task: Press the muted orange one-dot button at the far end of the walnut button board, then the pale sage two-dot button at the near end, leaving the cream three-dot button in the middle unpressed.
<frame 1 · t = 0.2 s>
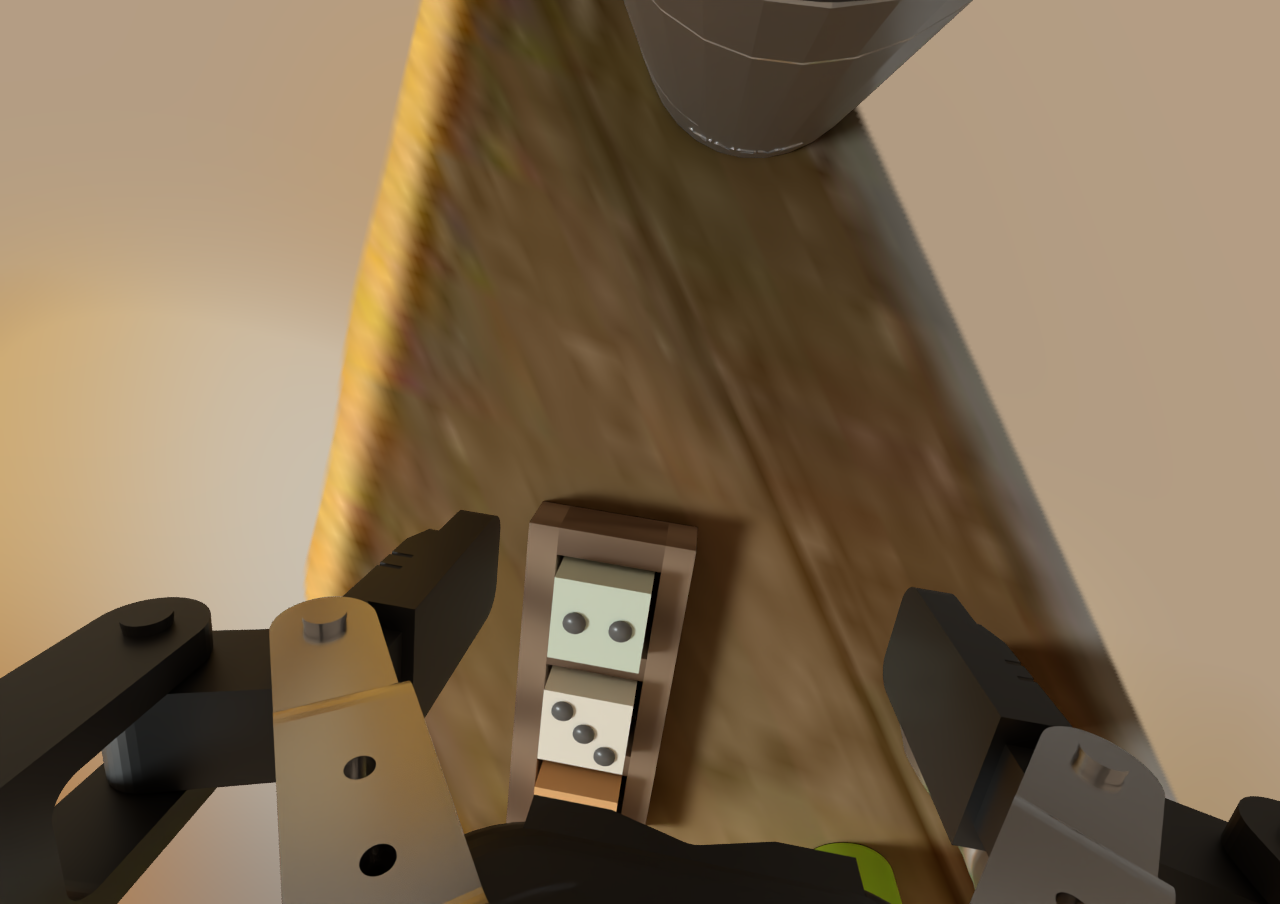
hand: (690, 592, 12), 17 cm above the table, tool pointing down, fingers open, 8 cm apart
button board: (597, 679, 34), on the table
three dot button: (589, 712, 32), point 3 cm above the table, slide at 0.0 cm
two dot button: (602, 609, 30), point 3 cm above the table, slide at 0.0 cm
soap dispenser: (848, 869, 37), on the table
one dot button: (577, 802, 34), point 3 cm above the table, slide at 0.0 cm
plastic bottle: (951, 696, 32), on the table
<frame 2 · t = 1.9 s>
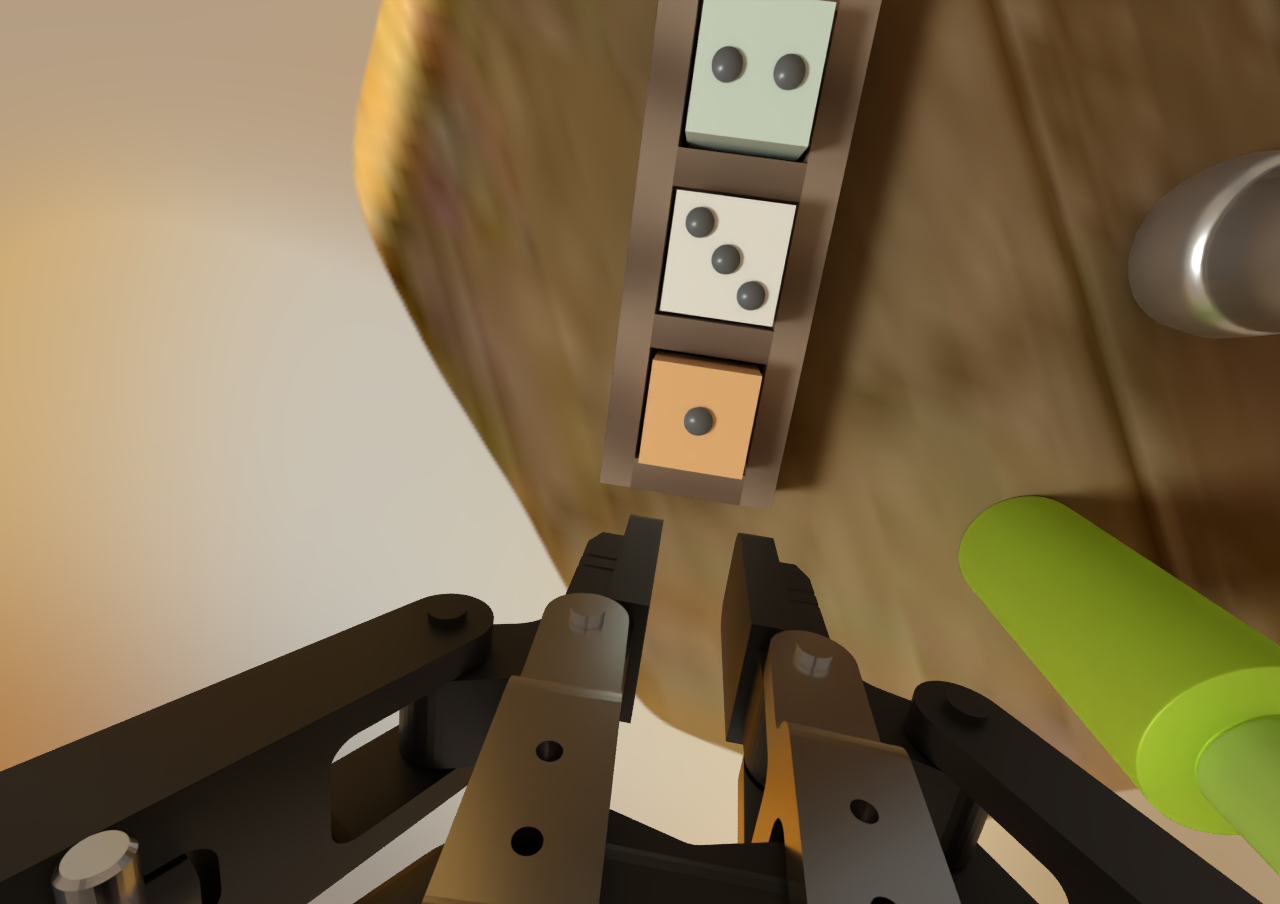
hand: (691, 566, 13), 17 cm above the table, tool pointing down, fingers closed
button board: (722, 261, 27), on the table
three dot button: (724, 260, 25), point 3 cm above the table, slide at 0.0 cm
two dot button: (754, 81, 23), point 3 cm above the table, slide at 0.0 cm
soap dispenser: (1027, 542, 30), on the table
one dot button: (698, 413, 27), point 3 cm above the table, slide at 0.0 cm
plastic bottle: (1184, 250, 25), on the table
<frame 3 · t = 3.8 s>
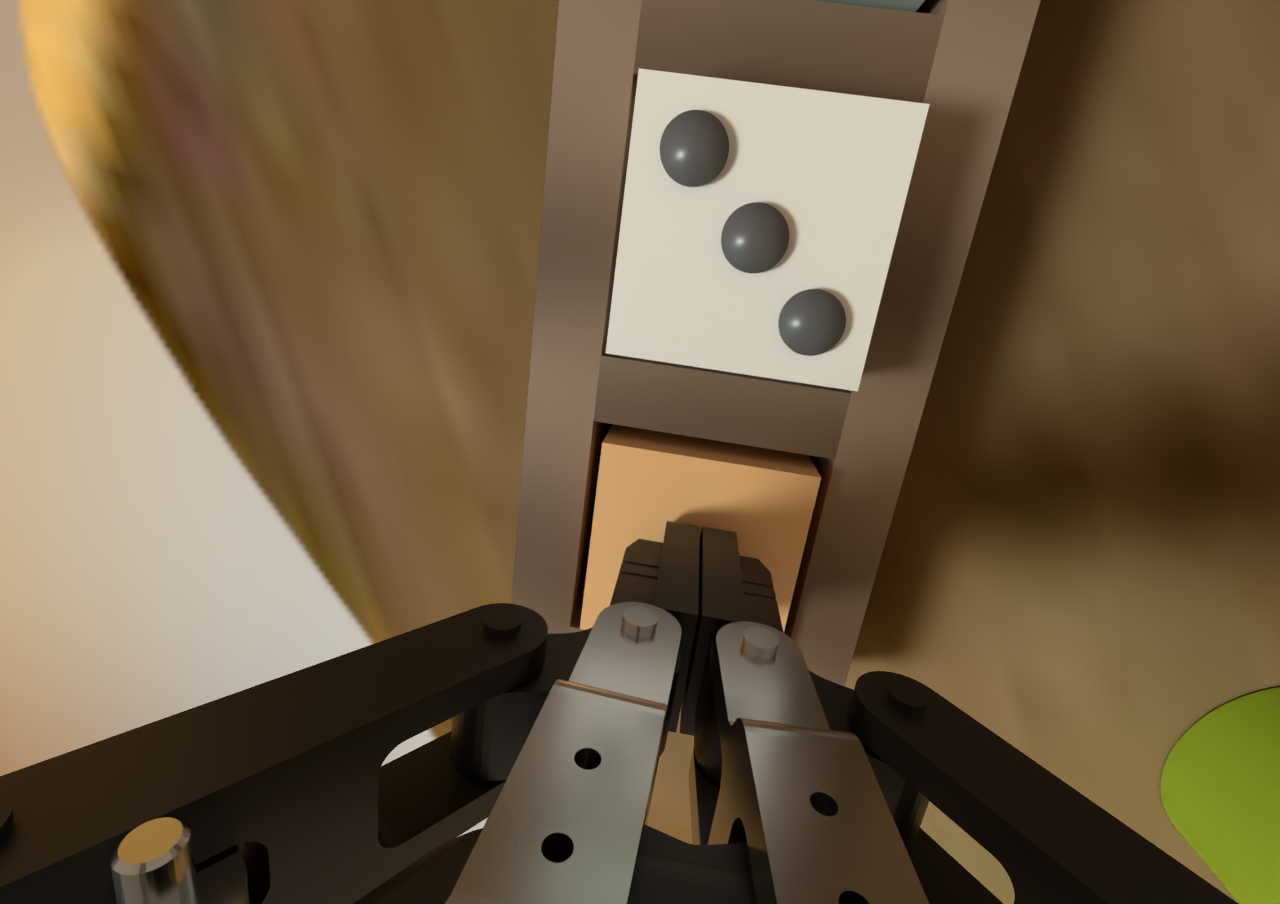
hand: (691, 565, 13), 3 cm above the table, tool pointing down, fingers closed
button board: (741, 246, 14), on the table
three dot button: (748, 242, 11), point 3 cm above the table, slide at 0.0 cm
one dot button: (694, 530, 14), point 2 cm above the table, slide at 1.1 cm, touching gripper
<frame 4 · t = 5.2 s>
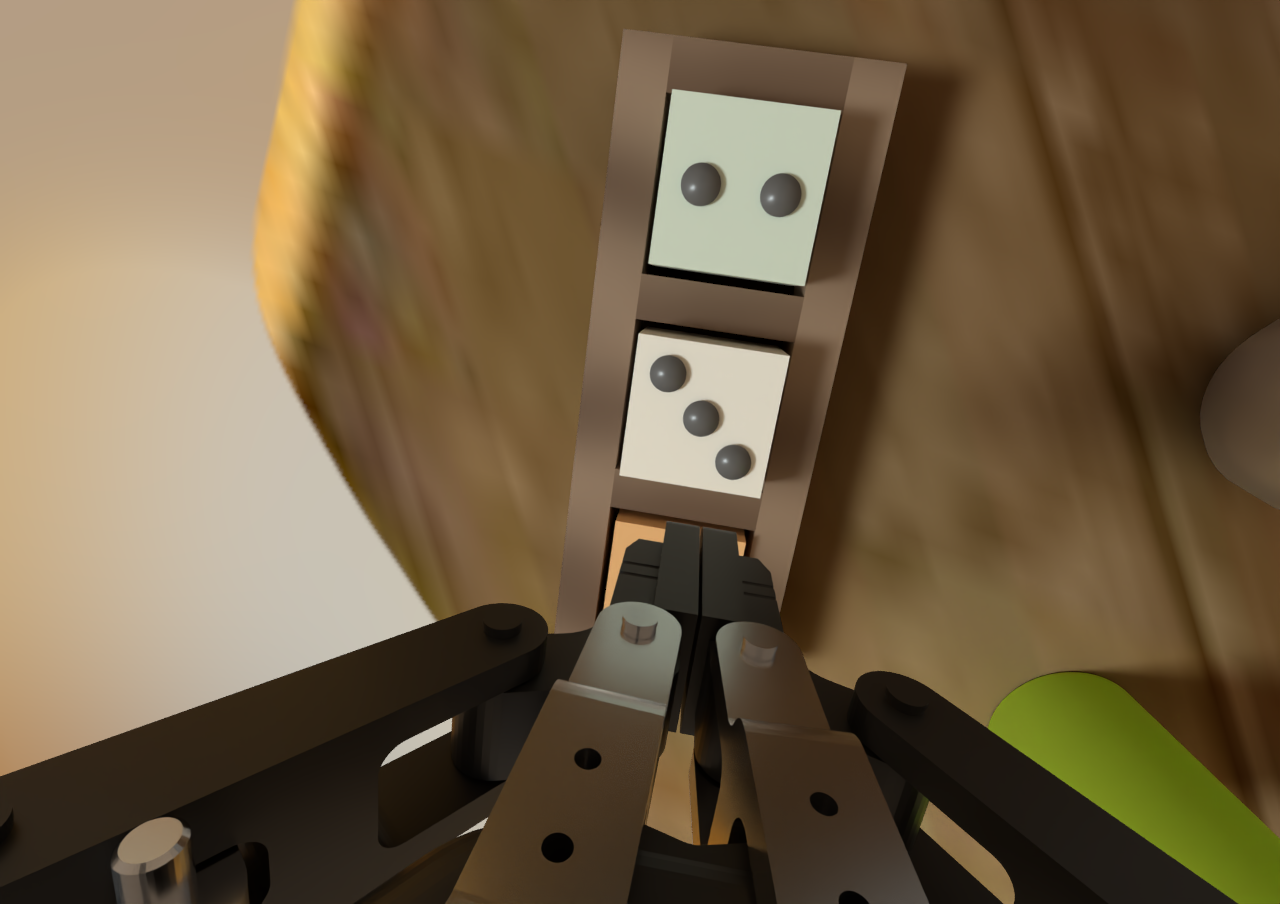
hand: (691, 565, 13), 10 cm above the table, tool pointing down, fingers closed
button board: (701, 395, 22), on the table
three dot button: (701, 408, 20), point 3 cm above the table, slide at 0.0 cm
two dot button: (737, 197, 18), point 3 cm above the table, slide at 0.0 cm
soap dispenser: (1069, 722, 25), on the table
one dot button: (672, 571, 23), point 2 cm above the table, slide at 1.0 cm
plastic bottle: (1268, 394, 21), on the table
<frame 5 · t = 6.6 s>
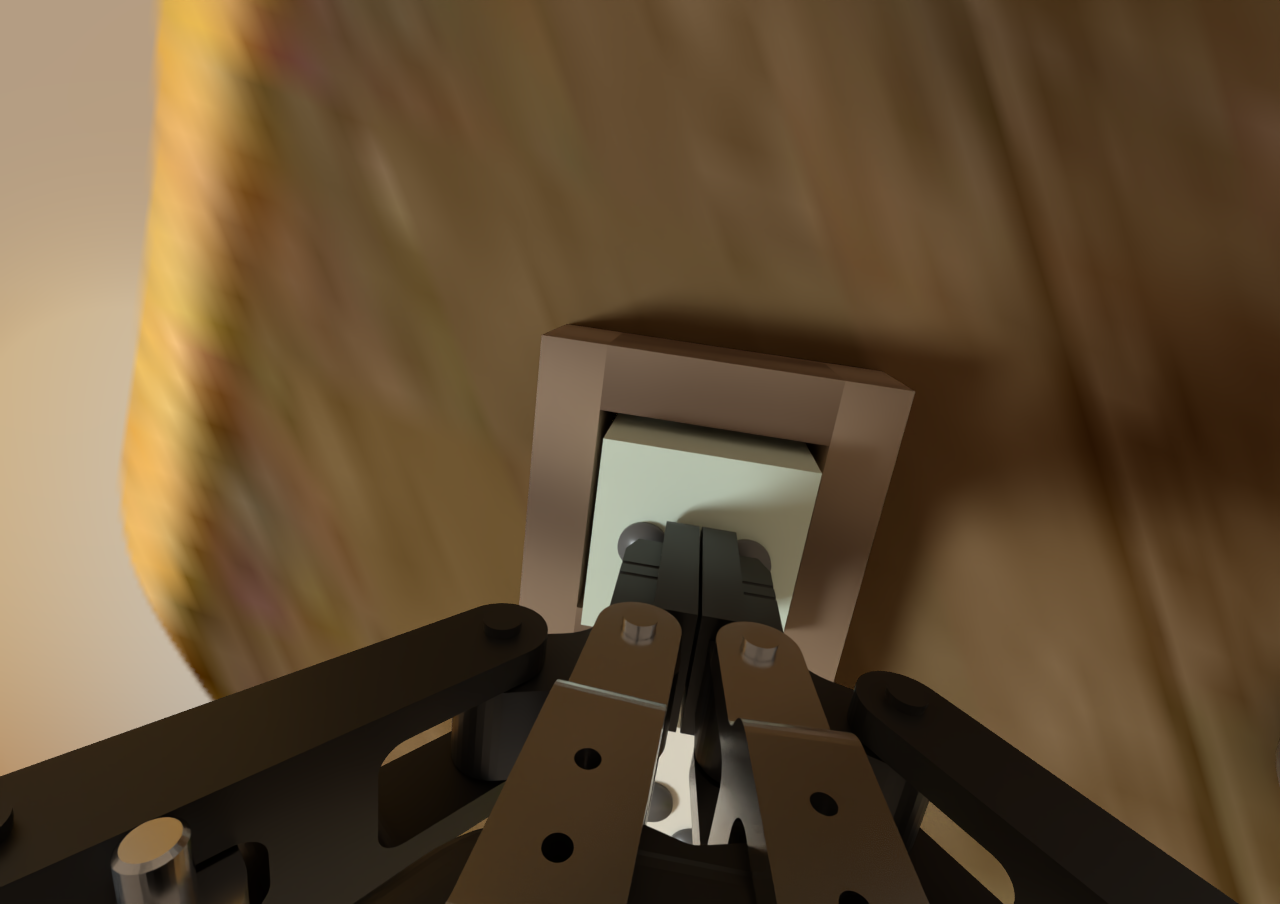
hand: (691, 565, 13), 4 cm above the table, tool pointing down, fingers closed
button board: (661, 689, 18), on the table
three dot button: (655, 753, 16), point 3 cm above the table, slide at 0.0 cm
two dot button: (694, 526, 14), point 2 cm above the table, slide at 0.4 cm, touching gripper
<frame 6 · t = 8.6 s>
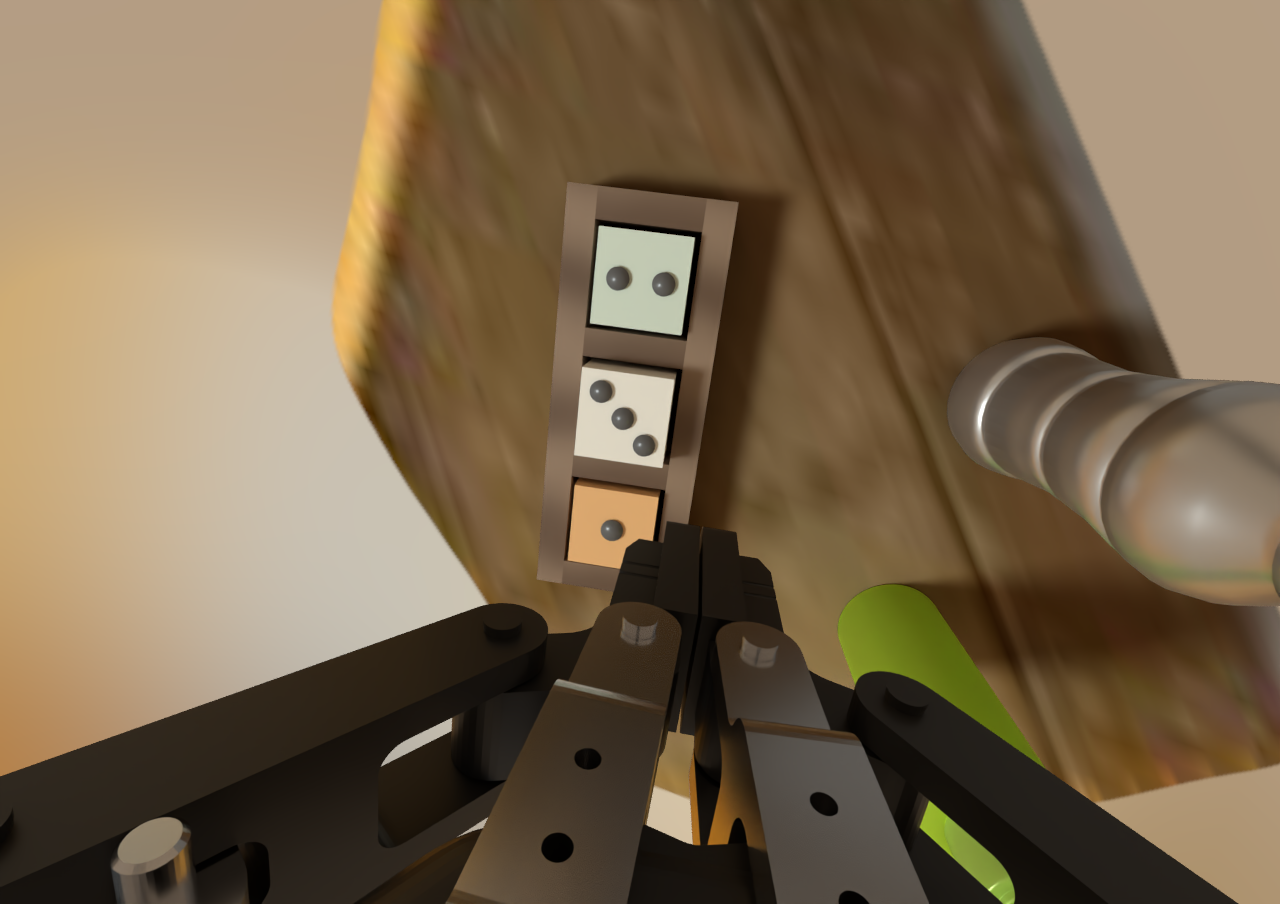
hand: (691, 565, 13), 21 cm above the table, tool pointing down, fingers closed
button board: (632, 401, 33), on the table
three dot button: (626, 411, 31), point 3 cm above the table, slide at 0.0 cm
two dot button: (643, 280, 30), point 2 cm above the table, slide at 1.0 cm
soap dispenser: (893, 620, 36), on the table
one dot button: (615, 519, 34), point 2 cm above the table, slide at 1.0 cm
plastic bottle: (998, 395, 32), on the table
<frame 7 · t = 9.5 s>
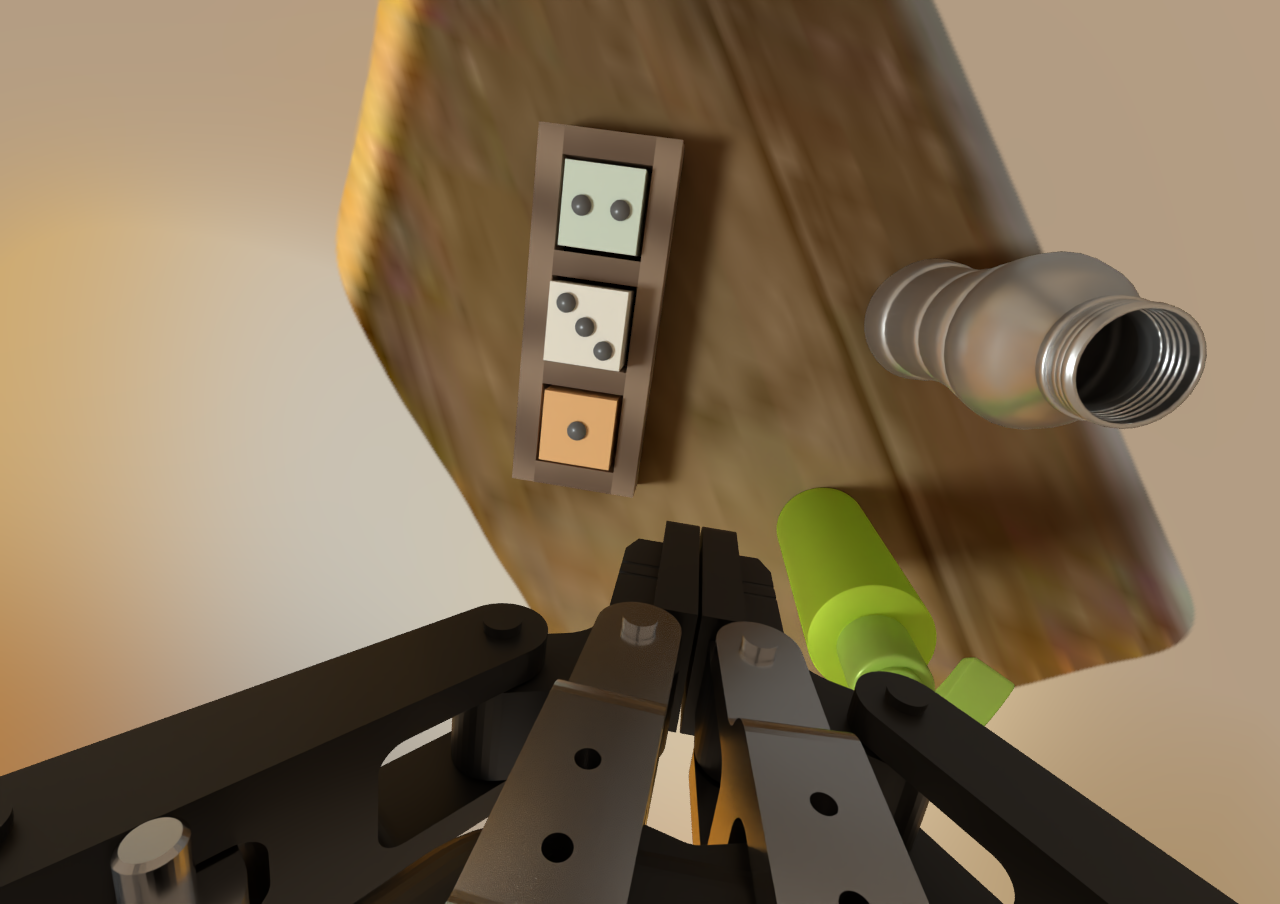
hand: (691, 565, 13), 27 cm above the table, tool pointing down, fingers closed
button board: (596, 321, 38), on the table
three dot button: (589, 324, 36), point 3 cm above the table, slide at 0.0 cm
two dot button: (604, 210, 35), point 2 cm above the table, slide at 1.0 cm
soap dispenser: (825, 521, 41), on the table
one dot button: (581, 425, 39), point 2 cm above the table, slide at 1.0 cm
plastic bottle: (910, 316, 37), on the table
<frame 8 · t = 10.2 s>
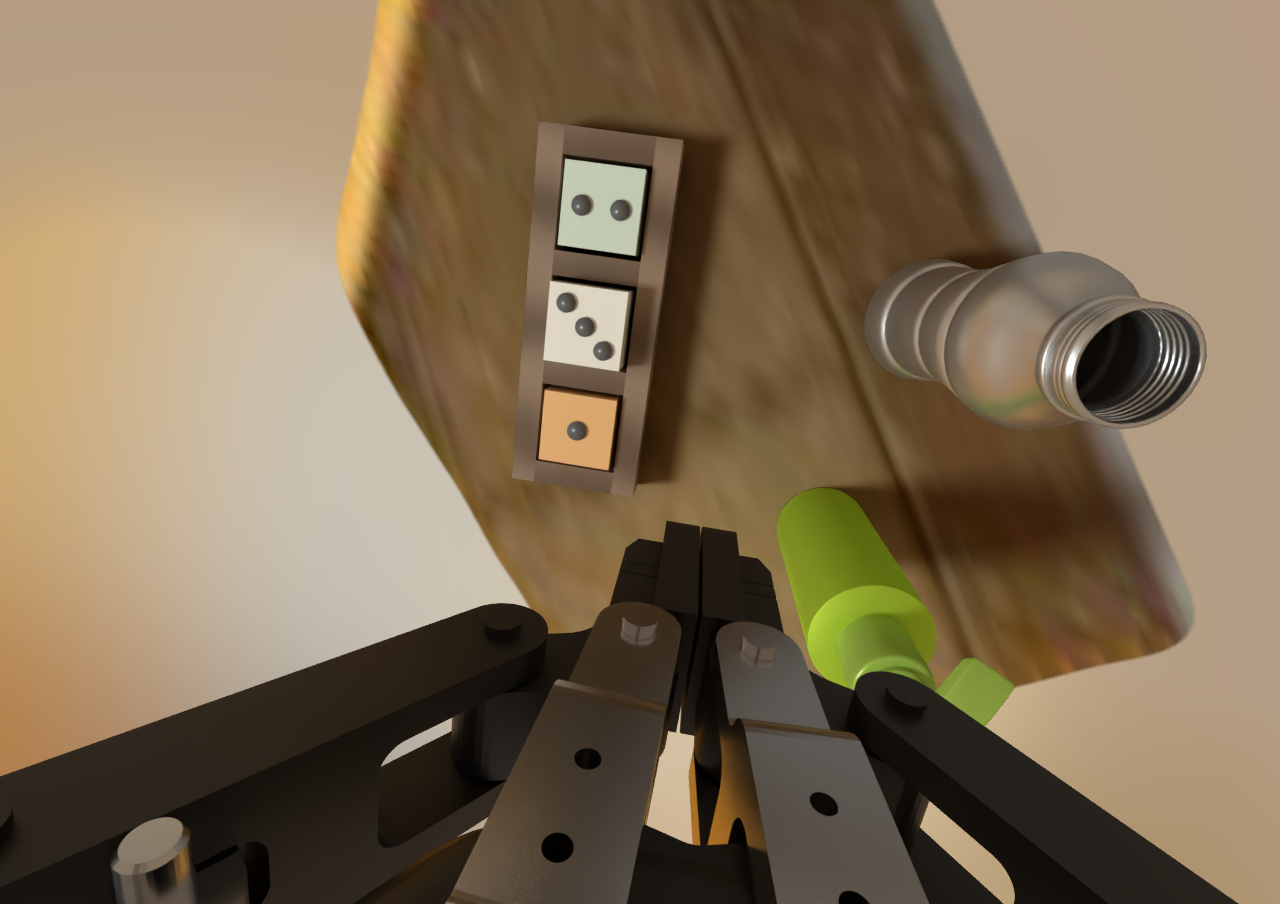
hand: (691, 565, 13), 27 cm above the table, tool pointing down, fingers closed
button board: (596, 321, 38), on the table
three dot button: (589, 324, 36), point 3 cm above the table, slide at 0.0 cm
two dot button: (604, 210, 35), point 2 cm above the table, slide at 1.0 cm
soap dispenser: (825, 521, 41), on the table
one dot button: (581, 425, 39), point 2 cm above the table, slide at 1.0 cm
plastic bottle: (910, 316, 37), on the table
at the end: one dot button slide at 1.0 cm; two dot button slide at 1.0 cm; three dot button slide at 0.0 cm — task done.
